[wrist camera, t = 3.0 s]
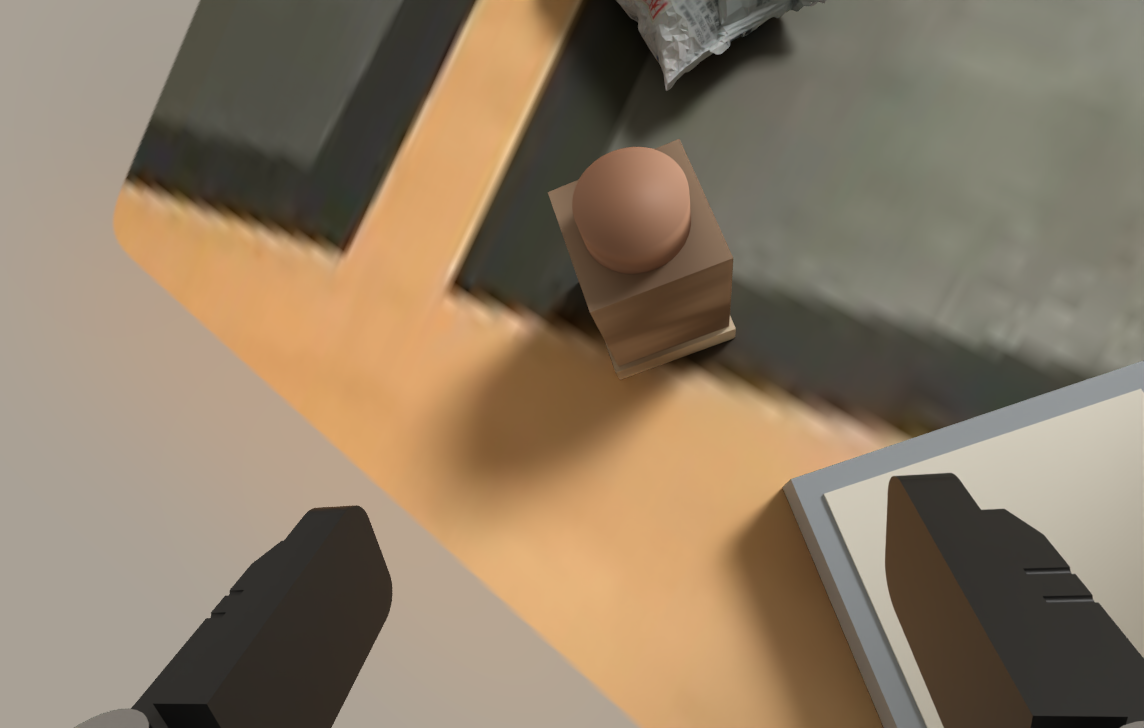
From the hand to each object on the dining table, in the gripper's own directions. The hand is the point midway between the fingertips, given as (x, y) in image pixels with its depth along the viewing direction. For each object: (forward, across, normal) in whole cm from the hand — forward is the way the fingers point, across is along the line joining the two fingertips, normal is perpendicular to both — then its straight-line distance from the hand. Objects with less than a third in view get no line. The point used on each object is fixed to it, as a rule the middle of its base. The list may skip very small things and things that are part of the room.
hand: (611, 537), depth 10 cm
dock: (+11, -12, +12) cm, 20 cm away
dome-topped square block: (+19, 0, +3) cm, 19 cm away
